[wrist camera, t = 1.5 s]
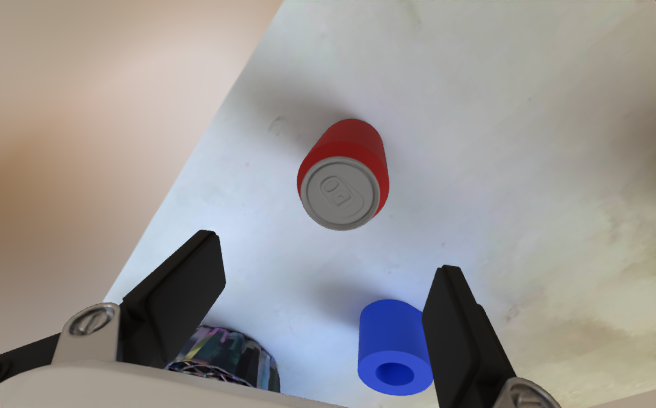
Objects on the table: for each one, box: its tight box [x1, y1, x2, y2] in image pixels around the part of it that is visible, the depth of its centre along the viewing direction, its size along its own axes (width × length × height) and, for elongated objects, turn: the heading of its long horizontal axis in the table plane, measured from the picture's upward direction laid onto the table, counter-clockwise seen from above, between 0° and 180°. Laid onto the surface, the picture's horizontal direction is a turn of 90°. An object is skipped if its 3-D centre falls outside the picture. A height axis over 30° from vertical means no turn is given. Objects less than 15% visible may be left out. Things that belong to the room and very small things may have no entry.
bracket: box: [358, 300, 433, 396], centre depth 35 cm, size 20×9×8 cm, turn 65°
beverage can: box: [297, 119, 389, 231], centre depth 22 cm, size 7×7×12 cm
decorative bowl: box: [149, 325, 280, 393], centre depth 46 cm, size 26×28×10 cm
